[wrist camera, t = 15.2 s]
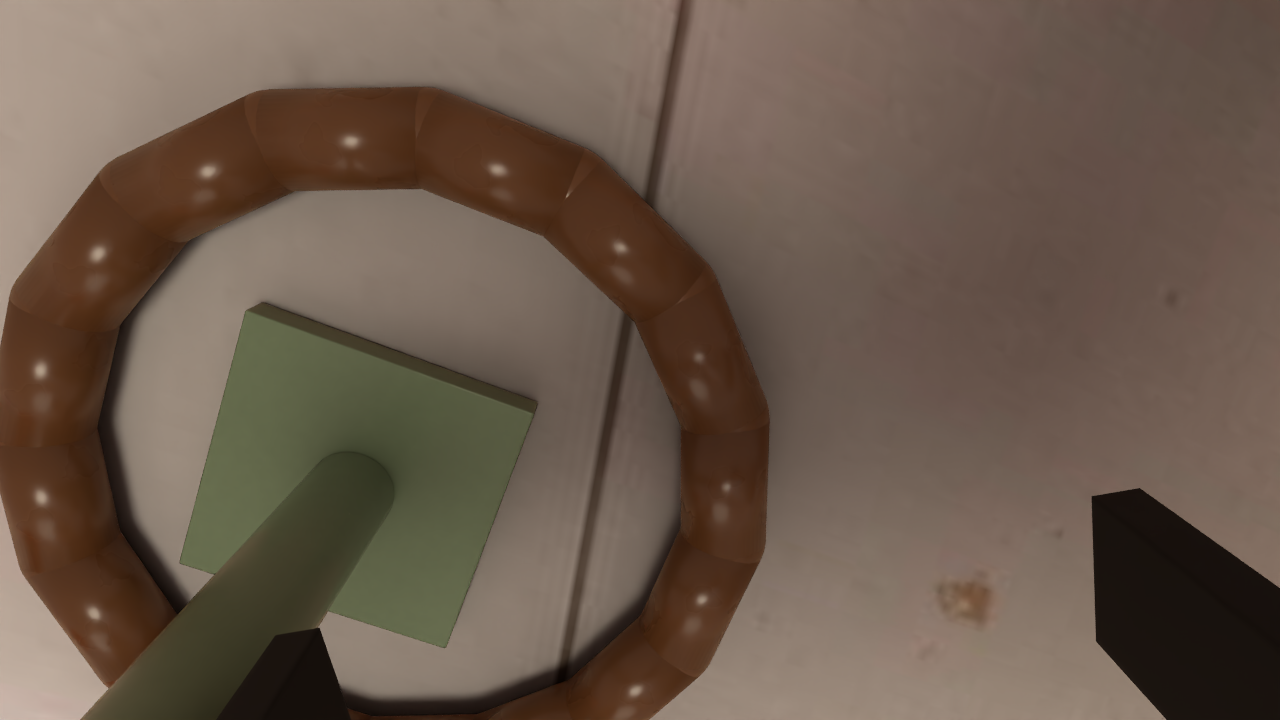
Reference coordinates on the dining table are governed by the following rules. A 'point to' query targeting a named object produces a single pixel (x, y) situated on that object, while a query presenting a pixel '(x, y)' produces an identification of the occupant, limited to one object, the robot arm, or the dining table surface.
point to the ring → (374, 160)
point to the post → (326, 507)
